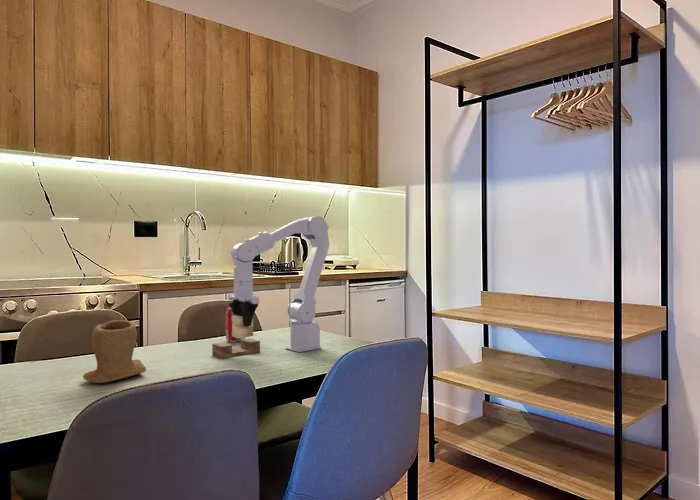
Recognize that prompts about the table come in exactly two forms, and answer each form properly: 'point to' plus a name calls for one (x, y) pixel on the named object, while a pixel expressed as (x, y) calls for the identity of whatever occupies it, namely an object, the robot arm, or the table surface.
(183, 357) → the table surface
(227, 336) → the soda can
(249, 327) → the tan wooden block
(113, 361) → the stone cup
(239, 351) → the brown u-shaped block
